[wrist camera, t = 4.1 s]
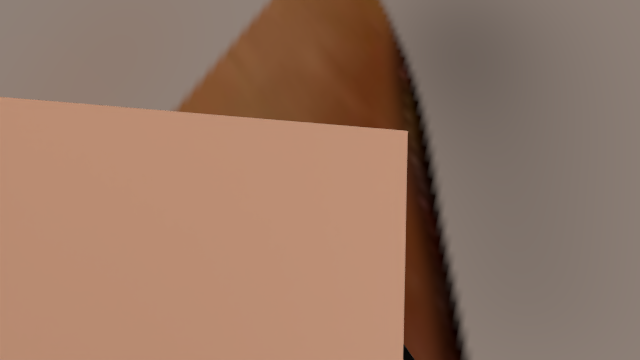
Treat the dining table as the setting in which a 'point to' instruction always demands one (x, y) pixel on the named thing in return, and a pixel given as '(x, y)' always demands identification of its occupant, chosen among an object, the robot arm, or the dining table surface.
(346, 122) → the dining table surface
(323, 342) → the terracotta peg
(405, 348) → the robot arm
